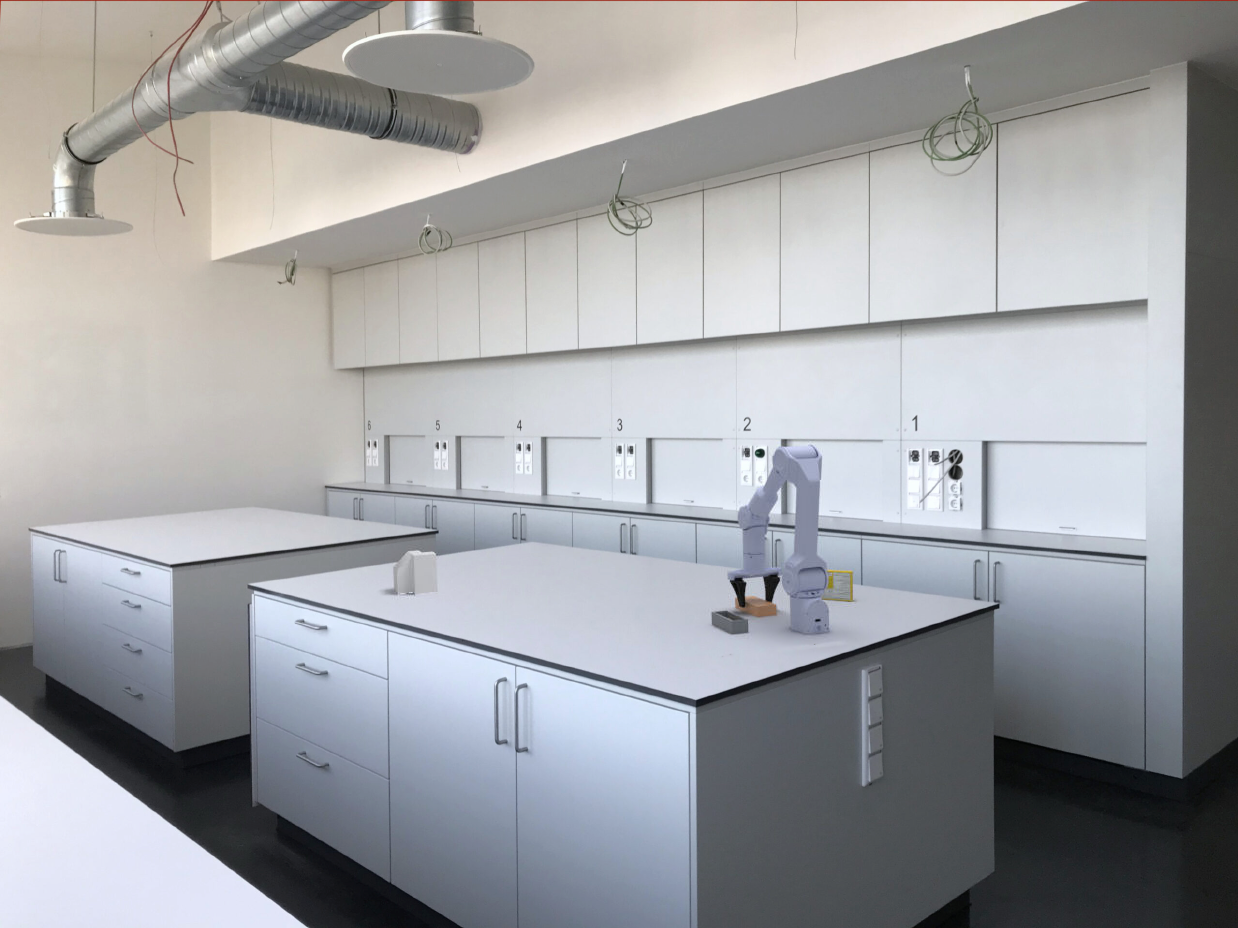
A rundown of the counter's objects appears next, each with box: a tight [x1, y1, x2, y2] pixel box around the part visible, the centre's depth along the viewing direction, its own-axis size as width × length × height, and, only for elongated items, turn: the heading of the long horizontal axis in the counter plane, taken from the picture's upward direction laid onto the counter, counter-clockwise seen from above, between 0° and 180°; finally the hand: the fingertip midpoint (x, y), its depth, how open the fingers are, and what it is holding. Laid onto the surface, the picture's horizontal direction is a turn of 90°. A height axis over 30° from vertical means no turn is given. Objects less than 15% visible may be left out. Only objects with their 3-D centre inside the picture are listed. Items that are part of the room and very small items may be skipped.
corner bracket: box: [392, 550, 439, 595], centre depth 292 cm, size 11×11×12 cm
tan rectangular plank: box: [734, 595, 778, 618], centre depth 246 cm, size 13×5×4 cm, turn 19°
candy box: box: [821, 569, 854, 603], centre depth 264 cm, size 16×2×8 cm, turn 59°
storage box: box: [711, 609, 749, 635], centre depth 228 cm, size 11×4×4 cm, turn 19°
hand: (755, 605), depth 246 cm, fingers open, 7 cm apart
